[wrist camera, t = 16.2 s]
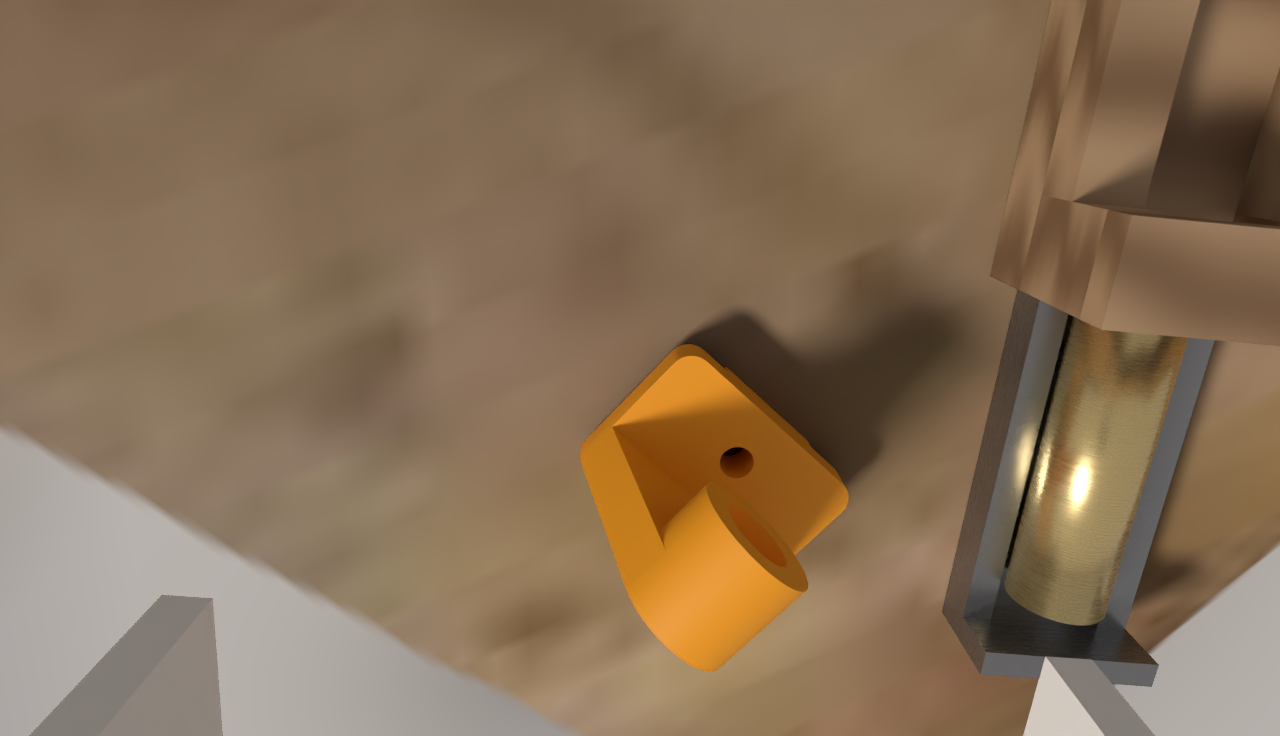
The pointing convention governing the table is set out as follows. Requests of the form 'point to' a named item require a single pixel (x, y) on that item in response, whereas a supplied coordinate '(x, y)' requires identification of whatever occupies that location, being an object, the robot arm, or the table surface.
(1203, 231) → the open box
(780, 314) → the table surface
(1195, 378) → the v block
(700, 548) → the bracket
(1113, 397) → the axle
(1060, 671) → the robot arm
